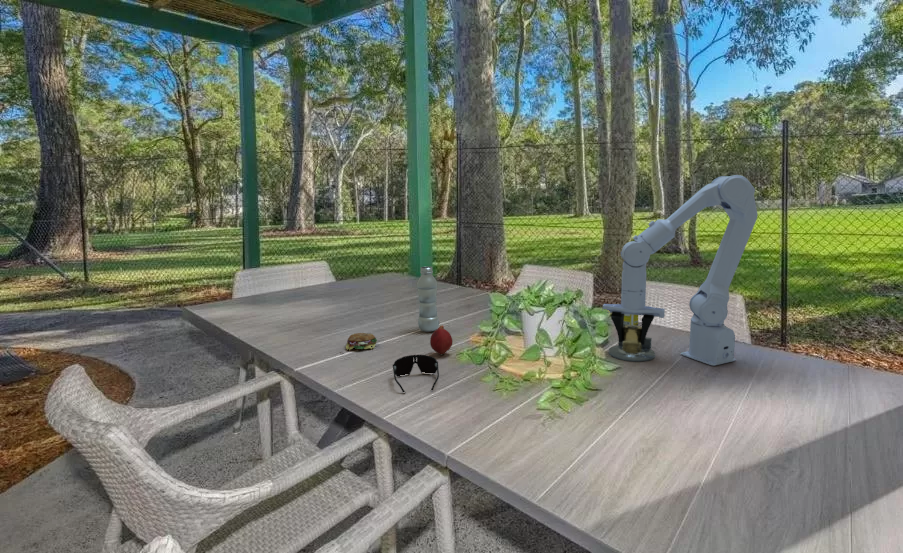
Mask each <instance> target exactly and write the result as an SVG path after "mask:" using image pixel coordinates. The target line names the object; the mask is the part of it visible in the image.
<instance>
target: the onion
mask: <svg viewBox="0 0 903 553" xmlns="http://www.w3.org/2000/svg"><path fill="white" fill-rule="evenodd" d="M444 327H445V326H444V325H443V324H442V325H441V324H440V325H439V326H438V328H437V330H435V331H432V333H431V336H430V338H429V339H430V341H429V344H430V347H431V349H432V350H433V351H435V352H436V353H438V354H439V355H441V354H443V355H445V354H446V353H447V352H448V351H449V350H450V349H451V347H452V346H453V337H452V334H451V333H450V332H449V331H448V330H447V329H445V328H444Z"/></svg>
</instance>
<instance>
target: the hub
mask: <svg viewBox="0 0 903 553" xmlns="http://www.w3.org/2000/svg"><path fill="white" fill-rule="evenodd" d="M641 335H642V325H641V326H640V325H638V326H637V325H626V326H623V351H625V352H629V353H639V352H641V351H642V344H641Z"/></svg>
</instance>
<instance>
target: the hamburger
mask: <svg viewBox="0 0 903 553" xmlns="http://www.w3.org/2000/svg"><path fill="white" fill-rule="evenodd" d="M346 341H347V343H346V346H345V348H346V349H347V350H348V349H349V351H351V350H357V349H361V350H367V349H370V350H372V348H374V349H375V347H376V344H377V342H378V339H377V338H376V336H375V335H374V334H373V333H366V332H356V333H352V334H350V335H349V337H348V338H347V340H346ZM371 346H372V347H371ZM353 348H355V349H353Z"/></svg>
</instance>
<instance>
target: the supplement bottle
mask: <svg viewBox="0 0 903 553" xmlns="http://www.w3.org/2000/svg"><path fill="white" fill-rule="evenodd" d="M626 325H637V326H639V315H632V314H624V323H623V326H626Z"/></svg>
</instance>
